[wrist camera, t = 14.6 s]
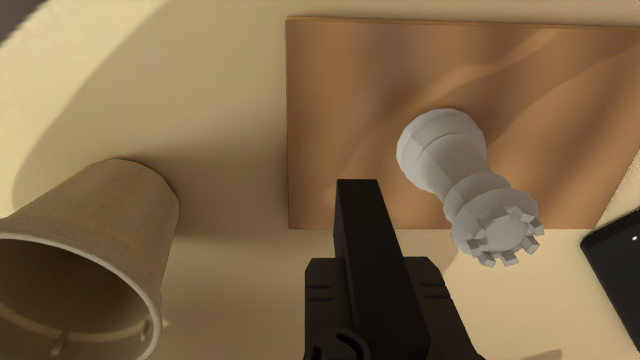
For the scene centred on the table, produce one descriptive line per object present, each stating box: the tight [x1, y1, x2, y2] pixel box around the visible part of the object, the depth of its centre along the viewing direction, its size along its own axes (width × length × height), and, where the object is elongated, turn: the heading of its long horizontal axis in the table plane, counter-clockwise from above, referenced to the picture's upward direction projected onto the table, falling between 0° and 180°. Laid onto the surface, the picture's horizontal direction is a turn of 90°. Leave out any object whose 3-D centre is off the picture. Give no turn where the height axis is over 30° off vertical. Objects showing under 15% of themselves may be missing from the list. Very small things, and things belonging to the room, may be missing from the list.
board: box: [285, 16, 640, 229], centre depth 20 cm, size 20×12×2 cm, turn 88°
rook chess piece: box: [396, 108, 544, 268], centre depth 16 cm, size 4×4×8 cm
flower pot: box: [0, 159, 180, 360], centre depth 18 cm, size 9×9×9 cm
